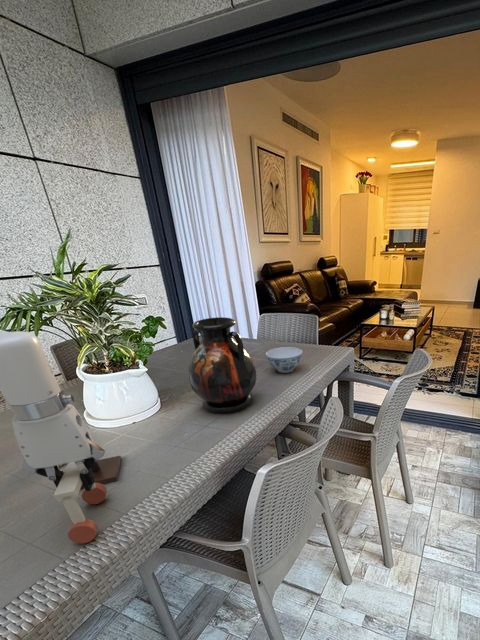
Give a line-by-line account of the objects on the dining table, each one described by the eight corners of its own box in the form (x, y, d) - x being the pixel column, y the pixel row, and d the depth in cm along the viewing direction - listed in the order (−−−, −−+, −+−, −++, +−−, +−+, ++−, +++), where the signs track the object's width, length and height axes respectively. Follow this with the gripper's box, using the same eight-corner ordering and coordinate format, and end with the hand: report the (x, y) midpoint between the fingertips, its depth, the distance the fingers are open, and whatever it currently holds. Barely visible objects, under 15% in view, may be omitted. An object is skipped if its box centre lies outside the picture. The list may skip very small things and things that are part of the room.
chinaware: (302, 376, 142) (300, 357, 138) (265, 377, 142) (263, 358, 139) (304, 363, 155) (303, 346, 151) (270, 364, 155) (268, 347, 152)
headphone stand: (70, 491, 82) (45, 440, 75) (79, 467, 90) (57, 419, 84) (117, 480, 85) (97, 430, 78) (122, 459, 93) (104, 412, 86)
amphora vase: (182, 411, 117) (160, 326, 103) (224, 388, 134) (210, 312, 120) (233, 423, 108) (217, 332, 95) (271, 396, 125) (262, 316, 112)
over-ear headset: (73, 546, 67) (47, 499, 61) (87, 500, 79) (67, 457, 73) (98, 539, 68) (76, 493, 63) (109, 495, 80) (91, 453, 74)
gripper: (96, 390, 66) (126, 469, 75) (-9, 406, 61) (36, 488, 70) (88, 406, 60) (122, 490, 69) (-30, 425, 55) (23, 513, 64)
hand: (78, 488), depth 69 cm, fingers closed on over-ear headset, 3 cm apart
